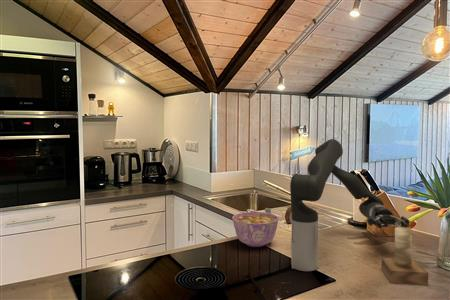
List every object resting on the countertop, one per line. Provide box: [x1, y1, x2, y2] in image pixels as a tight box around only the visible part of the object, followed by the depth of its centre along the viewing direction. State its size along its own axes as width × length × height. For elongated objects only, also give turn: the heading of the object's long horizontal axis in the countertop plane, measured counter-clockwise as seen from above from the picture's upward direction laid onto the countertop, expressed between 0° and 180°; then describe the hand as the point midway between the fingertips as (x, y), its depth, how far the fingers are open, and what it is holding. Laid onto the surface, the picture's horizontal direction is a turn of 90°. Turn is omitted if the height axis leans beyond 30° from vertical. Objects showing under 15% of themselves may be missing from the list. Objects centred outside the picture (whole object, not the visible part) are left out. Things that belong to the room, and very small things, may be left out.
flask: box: [264, 207, 272, 214], centre depth 172 cm, size 7×7×10 cm
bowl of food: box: [231, 211, 280, 248], centre depth 150 cm, size 20×20×12 cm
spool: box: [394, 226, 413, 268], centre depth 115 cm, size 5×5×12 cm
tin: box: [284, 206, 292, 224], centre depth 184 cm, size 15×3×8 cm, turn 141°
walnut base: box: [381, 257, 429, 286], centre depth 116 cm, size 11×11×4 cm
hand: (393, 226), depth 126 cm, fingers open, 8 cm apart
